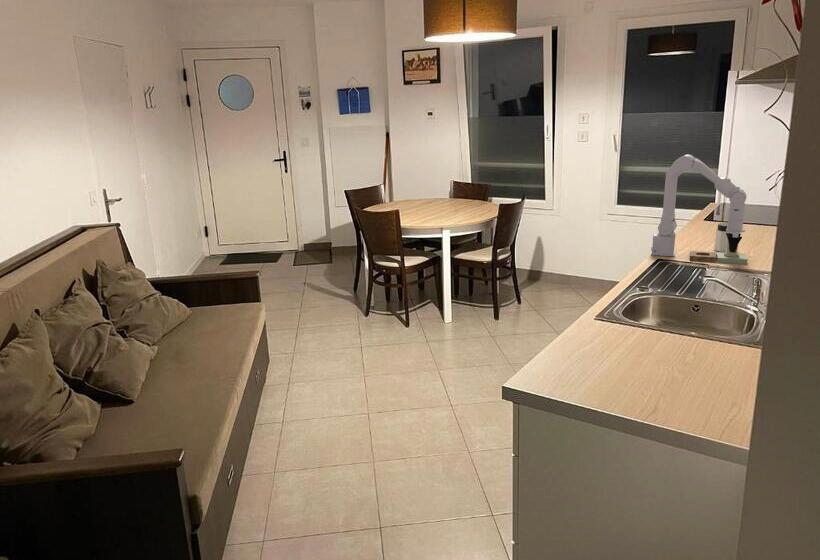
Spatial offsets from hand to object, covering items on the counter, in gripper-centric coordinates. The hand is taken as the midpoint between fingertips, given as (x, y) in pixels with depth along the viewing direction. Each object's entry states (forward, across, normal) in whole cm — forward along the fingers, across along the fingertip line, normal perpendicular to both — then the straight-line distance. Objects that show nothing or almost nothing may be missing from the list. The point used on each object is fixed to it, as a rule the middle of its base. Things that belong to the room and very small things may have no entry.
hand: (732, 251), depth 258 cm
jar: (+4, +19, +1) cm, 19 cm away
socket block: (+4, 0, +11) cm, 12 cm away
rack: (+4, 0, 0) cm, 4 cm away
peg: (+3, 0, 0) cm, 4 cm away
